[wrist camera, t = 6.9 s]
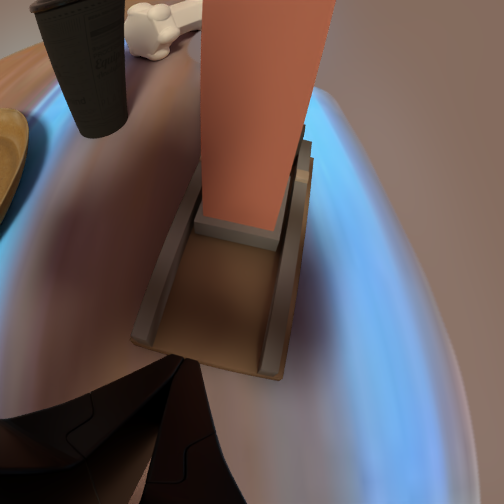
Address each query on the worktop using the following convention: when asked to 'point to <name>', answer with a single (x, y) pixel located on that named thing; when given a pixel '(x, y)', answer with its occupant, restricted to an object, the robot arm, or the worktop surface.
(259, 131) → the post
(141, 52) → the bone shaped toy
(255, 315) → the press track
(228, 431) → the worktop surface
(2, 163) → the plant saucer
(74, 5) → the drinking cup
